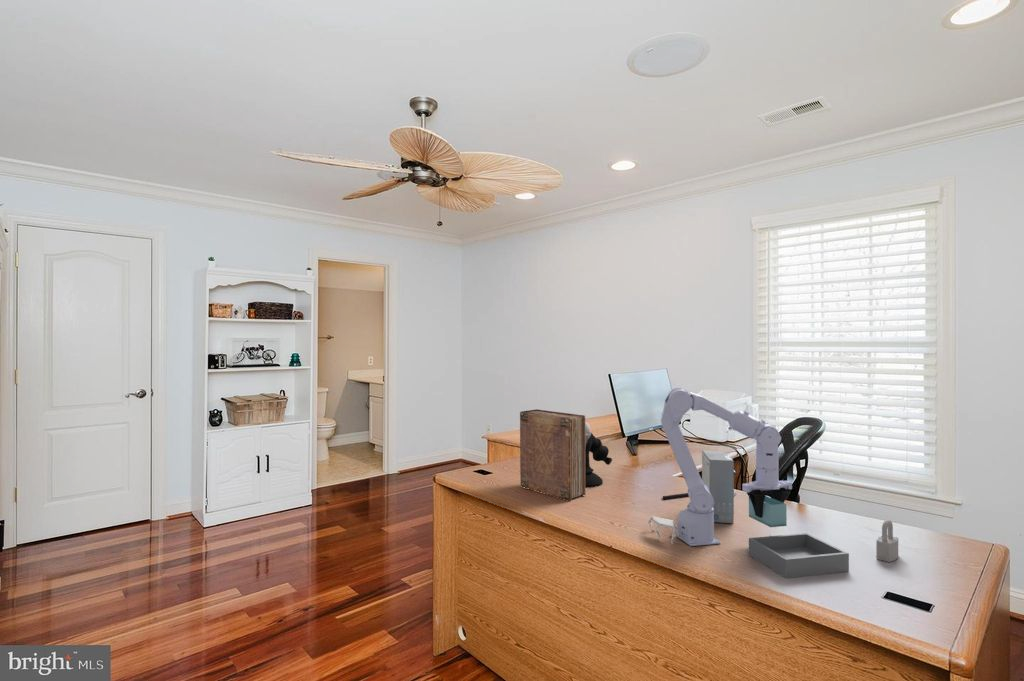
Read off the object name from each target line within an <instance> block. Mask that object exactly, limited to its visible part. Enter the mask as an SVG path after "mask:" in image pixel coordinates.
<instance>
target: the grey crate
mask: <svg viewBox="0 0 1024 681" xmlns="http://www.w3.org/2000/svg"><path fill="white" fill-rule="evenodd" d="M748 555H749V556H750V557H752V558H754V559H755V560H756V561H758V562H760V563H761V564H763V565H764V566H766V567H767V568H769V569H771V570H772V571H774V572H775V573H777V574H779V575H780V576H782V577H783V578H784V579H792V578H799V577H800V578H801V577H809V576H817V575H827V574H836V573H837V574H839V573H845V572H846V573H847V572H849V571H850V568H849V567H850V561H849V560H850V553H849V552H847V551H845V550H843V549H841V548H838V547H837V546H835V545H833V544H831V543H828V542H827V541H825V540H822V539H820V538H818V537H816V536H814V535H812V534H809V533H808V532H803V533H801V532H800V533H792V534H791V533H790V534H778V535H768V536H755V537H748Z"/></svg>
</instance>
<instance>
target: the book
mask: <svg viewBox="0 0 1024 681" xmlns="http://www.w3.org/2000/svg"><path fill="white" fill-rule="evenodd" d="M585 422H586V415H585V414H584V415H583V414H576V413H569V412H560V411H551V410H545V409H544V410H543V409H530V410H523V411H520V412H519V439H520V440H519V441H520V443H519V444H520V446H519V451H520V452H519V455H520V456H519V459H520V460H519V462H520V463H519V464H520V465H519V466H520V472H519V473H520V478H519V479H520V487H521V486H522V487H525V488H529V489H532V490H536V491H539V492H542V493H545V494H544V495H546V494H548V495H547V496H549V495H551V497H553V496H555V497H554V498H556V497H558V498H557V499H559V498H561V499H560V500H563V499H565V500H564V501H566V500H568V501H567V502H571V501H572V499H575V498H579V497H582V496H581V495H585V496H586V487H585ZM522 487H521V488H522ZM525 488H524V489H525ZM529 489H528V490H529ZM532 490H531V491H532ZM539 492H538V493H539ZM542 493H541V494H542Z"/></svg>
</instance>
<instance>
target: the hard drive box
mask: <svg viewBox="0 0 1024 681" xmlns="http://www.w3.org/2000/svg"><path fill="white" fill-rule="evenodd" d="M734 465H735V461H734V460H733V458H732V457H730V456H729V454H727V453H726V452H725V451H718V450H702V451H701V479H702V481H703V483H704V484H705V485H707V486H708V488H709V490H710V493H711V495H712V497H713V499H714V505H713V508H714V523H724V524H725V523H726V524H734V520H735V519H734V517H735V516H734V514H735V512H734V508H735V507H734V502H735V498H734V497H735V496H734V489H735V488H734V487H735V485H734V482H735V480H734V479H735V478H734V477H735V476H734V475H735V470H734V469H735V468H734V467H735V466H734Z"/></svg>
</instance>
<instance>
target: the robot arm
mask: <svg viewBox="0 0 1024 681" xmlns="http://www.w3.org/2000/svg"><path fill="white" fill-rule="evenodd" d="M689 410H692V411H693V412H695V411H705V412H706V413H709V414H710V415H712V416H715V417H717V418H719V419H722V420H724V421H726V422H728V425H729V428H730V429H731V430H734V431H735V432H737V433H740V434H741V435H743V436H746V437H748V438H749V439H751V440H753V439H754V440H755V441H756V444H755V445H756V447H755V448H756V449H755V480H754V481H751V482H746V483H742V487H741V488H742V491H743V492H745V493H746V494H747V496H748V499H749V498H750V500H751V502H752V505H753V508H754V512H755V516H757V517H759V518H762V516H763V503H764V499H765V496H767V495H766V494H764V493H762V492H761V491H769V494H770V497H771V498H773V499H776V500H778V501H780V502H783V503H785V502H786V500H787V497H789V494H790V492H789V491H788V490H792V489H793V482H792V481H790V480H779V475H780V474H779V468H780V467H779V465H780V464H779V462H780V461H779V459H780V458H779V456H780V455H779V445H780V443H781V441H782V436H781V434H780V432H779V430H778V429H777V428H775V427H774V426H773V425H771V424H769V423H768V422H766V421H765V420H764V419H761V420H760V419H758V418H757V417H754V416H752V415H751V414H750V412H748V411H746V410H743V411H742V410H736V411H732V410H729V409H728V408H726V407H724V406H722V405H720V404H719V403H716V402H714V401H712V400H710V399H709V398H707V397H705V396H704V395H701V394H698V393H695V392H693V391H687V390H686V389H684V388H682V387H676V388H673V389H671V390H670V392H668V394H667V396H666V398H665V399H664V405H663V411H662V413H661V418H660V419H661V420H660V422H661V423H660V424H661V426H662V429H663V431H664V434H665V436H666V439H667V441H668V443H669V446H670V448H671V449H672V452H673V454H674V455H673V456H674V457H675V460H676V462H677V464H678V467H679V469H680V471H681V474H682V476H683V479H684V481H685V484H686V486H687V493H688V496H689V497H688V498H689V500H690V501H689V503H688V504H687V506H686V508H685V509H682V510H679V512H678V515H677V526H678V530H677V534H676V537H677V538H679V539H680V540H681V541H683V542H685V544H687V545H688V546H690V547H697V546H704V545H705V546H706V545H707V546H708V545H717V544H721V541H720V540H719V539H717V538H716V537H715V535H714V534H715V528H714V527H715V522H714V508H713V505H714V499H713V497H712V495H711V493H710V490H709V488H708V486H707V485H705V484H704V483H703V481H702V476H701V475H700V472H699V470H698V467H697V464H696V463H695V460H694V458H693V455H692V454H691V452H690V449H689V447H688V444H687V442H686V440H685V437H684V435H683V432H682V430H681V427H680V422H681V421H682V418H684V415H686V413H688V412H689Z"/></svg>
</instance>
